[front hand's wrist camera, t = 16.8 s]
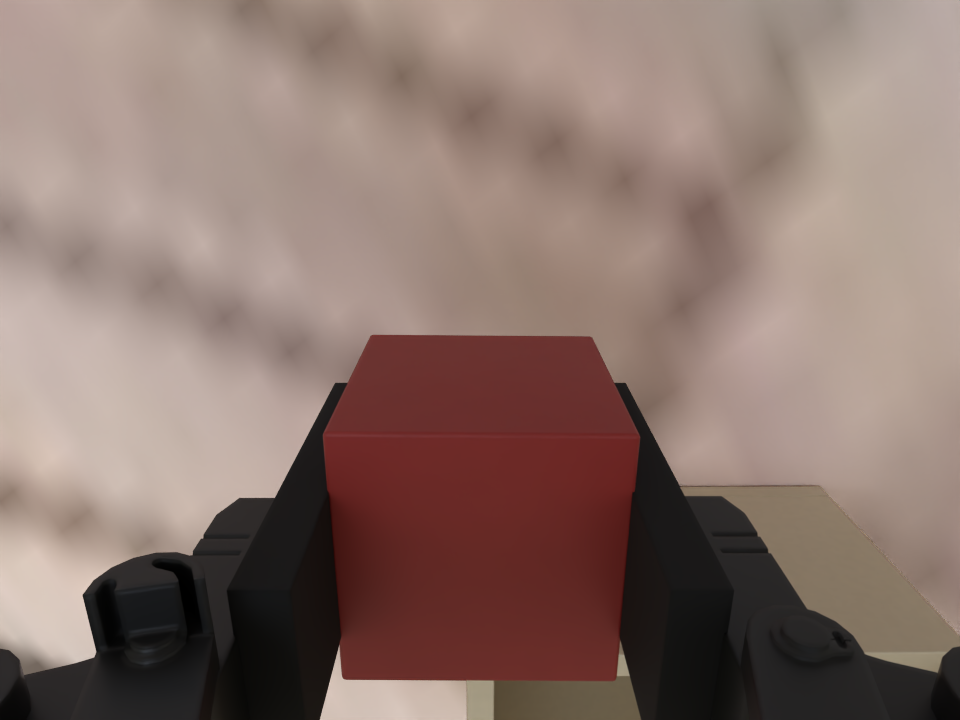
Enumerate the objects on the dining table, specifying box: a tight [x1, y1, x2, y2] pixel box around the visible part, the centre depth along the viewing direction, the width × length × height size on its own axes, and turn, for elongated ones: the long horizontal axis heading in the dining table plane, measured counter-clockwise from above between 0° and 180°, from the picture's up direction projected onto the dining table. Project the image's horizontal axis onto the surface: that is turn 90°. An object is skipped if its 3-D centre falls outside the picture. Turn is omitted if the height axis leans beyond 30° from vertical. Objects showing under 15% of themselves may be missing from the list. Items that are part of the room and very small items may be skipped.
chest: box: [467, 486, 960, 720], centre depth 27 cm, size 15×10×10 cm, turn 90°
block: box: [323, 335, 640, 681], centre depth 13 cm, size 5×5×5 cm
